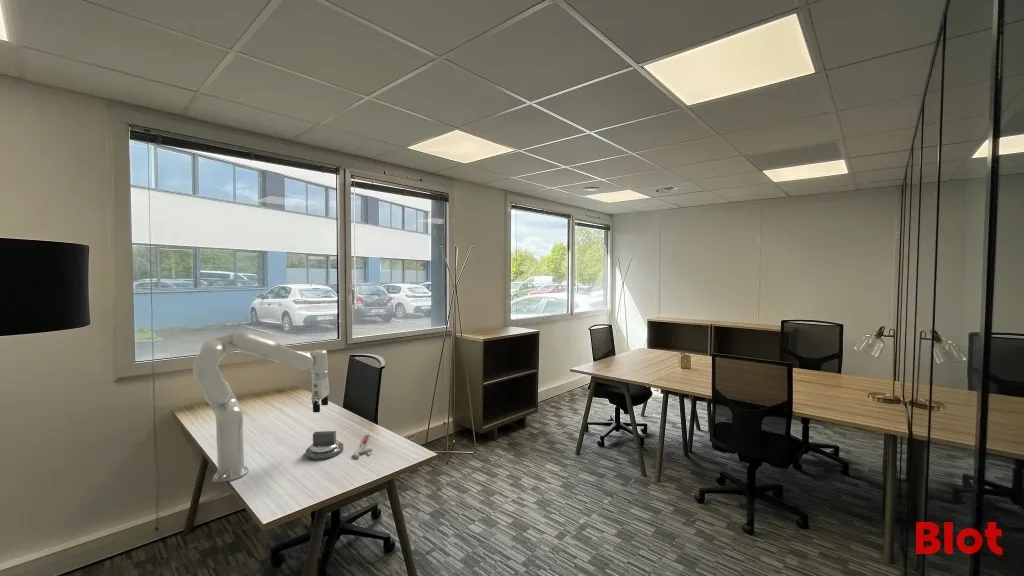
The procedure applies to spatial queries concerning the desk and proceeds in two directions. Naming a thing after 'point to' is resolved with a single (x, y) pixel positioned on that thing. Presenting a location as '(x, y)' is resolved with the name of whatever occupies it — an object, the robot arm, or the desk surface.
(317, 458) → the dial base
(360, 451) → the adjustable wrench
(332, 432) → the dial
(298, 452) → the desk surface
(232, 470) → the robot arm
